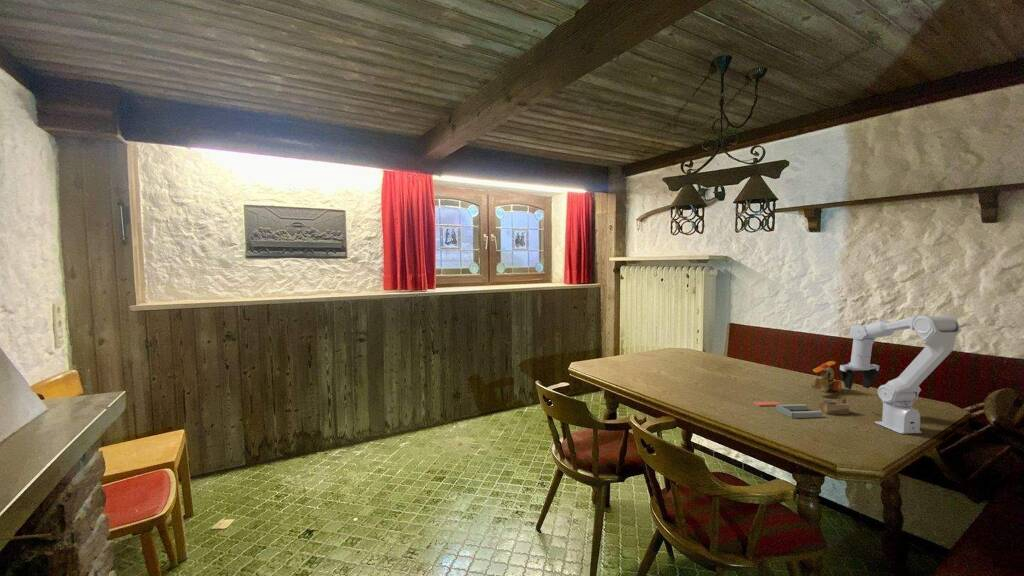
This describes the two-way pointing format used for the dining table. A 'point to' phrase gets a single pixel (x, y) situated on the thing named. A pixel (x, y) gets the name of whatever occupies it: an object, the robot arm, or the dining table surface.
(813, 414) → the cradle jig
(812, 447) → the dining table surface
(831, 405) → the fuselage block
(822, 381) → the orange handled valve
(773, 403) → the wing plank
